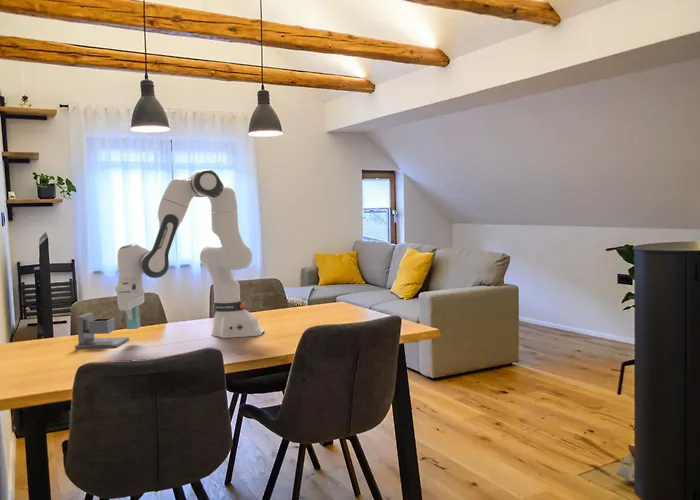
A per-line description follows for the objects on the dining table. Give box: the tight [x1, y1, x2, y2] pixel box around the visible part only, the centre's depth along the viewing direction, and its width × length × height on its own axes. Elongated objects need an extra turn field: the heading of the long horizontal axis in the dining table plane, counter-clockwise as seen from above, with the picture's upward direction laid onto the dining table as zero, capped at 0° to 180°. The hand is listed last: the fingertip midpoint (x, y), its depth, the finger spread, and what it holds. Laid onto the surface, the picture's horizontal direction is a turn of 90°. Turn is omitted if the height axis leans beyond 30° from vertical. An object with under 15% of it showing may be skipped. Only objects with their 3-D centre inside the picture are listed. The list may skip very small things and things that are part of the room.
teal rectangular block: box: [125, 305, 141, 330], centre depth 229 cm, size 4×4×9 cm
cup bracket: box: [74, 312, 130, 350], centre depth 229 cm, size 16×14×12 cm
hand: (133, 318), depth 229 cm, fingers closed on teal rectangular block, 4 cm apart
